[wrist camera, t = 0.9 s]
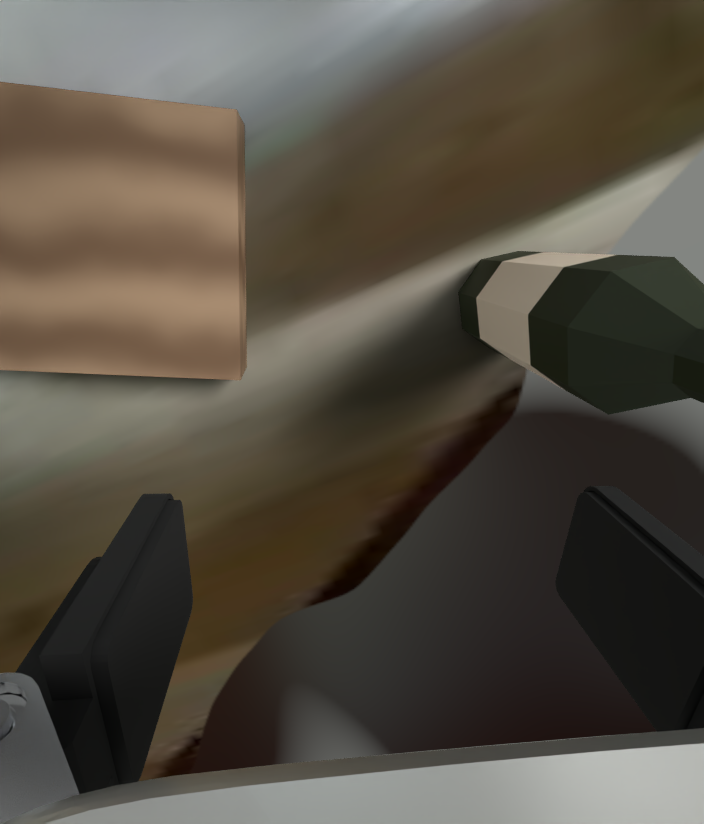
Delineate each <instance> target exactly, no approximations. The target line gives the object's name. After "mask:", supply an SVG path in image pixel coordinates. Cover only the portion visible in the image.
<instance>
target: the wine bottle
mask: <svg viewBox="0 0 704 824" xmlns="http://www.w3.org/2000/svg"><path fill="white" fill-rule="evenodd" d="M458 293H459V302H460V311H461V321H462V329H464V330H465V331H466V332H468V333H469V334H471V335H472V336H474V337H475V338H476V339H478V340H479V341H481V342H482V343H484V344H485V345H486V346H488V347H489V348H491V349H493V350H495V351H496V352H498V353H500V354H502V355H503V356H505V357H507V358H509V359H511V360H512V361H514V362H516V363H518V364H519V365H521V366H523V367H525V368H527V369H528V370H530V371H532V372H534V373H535V374H537V375H539V376H541V377H543V378H544V379H546V380H548V381H550V382H551V383H553V384H555V385H557V386H559V387H560V388H562V389H564V390H566V391H568V392H569V393H571V394H573V395H575V396H576V397H578V398H580V399H582V400H583V401H585V402H587V403H589V404H591V405H592V406H594V407H596V408H598V409H600V410H601V411H603V412H605V413H607V414H613V413H619V412H624V411H628V410H633V409H638V408H643V407H648V406H652V405H657V404H663V403H667V402H672V401H677V400H682V399H687V398H693V399H695V400H698V401H700V402H703V403H704V284H703V283H702V282H701V281H699V280H698V279H697V278H696V277H695V276H694V275H693V274H692V273H691V272H690V271H689V270H688V269H687V268H685V267H684V266H683V265H682V264H681V263H680V262H679V261H678V260H677V259H676V258H675V257H658V256H632V255H605V254H579V253H553V252H526V251H517V252H512V253H508V254H503V255H499V256H495V257H490V258H486V259H481V261H480V262H479V264H478V265H477V267H476V268H475V269H474V271H473V272H472V274H471V275H470V277H469V278H468V279H467V281H466V282H465V284H464V285H463V287H462V288H461V289H460V291H459V292H458Z"/></svg>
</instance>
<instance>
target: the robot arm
mask: <svg viewBox="0 0 704 824" xmlns="http://www.w3.org/2000/svg"><path fill="white" fill-rule="evenodd" d="M556 589H557V592H558V593H559V596H560V597H561V599H562V600H563V602H564V603H565V604H566V606H567V607H568V608H569V610H570V611H571V613H572V614H573V615H574V617H575V618H576V620H577V621H578V622H579V624H580V625H581V627H582V628H583V629H584V631H585V632H586V634H587V635H588V636H589V638H590V639H591V641H592V642H593V643H594V645H595V646H596V647H597V649H598V650H599V652H600V653H601V654H602V656H603V657H604V659H605V660H606V661H607V663H608V664H609V665H610V667H611V668H612V670H613V671H614V673H615V674H616V675H617V677H618V678H619V680H620V681H621V682H622V684H623V685H624V686H625V688H626V689H627V691H628V692H629V693H630V695H631V696H632V698H633V699H634V700H635V702H636V703H637V704H638V706H639V707H640V709H641V710H642V712H643V713H644V714H645V716H646V717H647V719H648V720H649V721H650V723H651V724H652V725H653V727H654V728H655V729H656V731H657V732H649V733H636V734H623V735H611V736H598V737H586V738H575V739H562V740H551V741H538V742H526V743H514V744H502V745H491V746H479V747H468V748H456V749H444V750H432V751H421V752H410V753H399V754H388V755H378V756H367V757H355V758H344V759H334V760H323V761H311V762H301V763H289V764H278V765H269V766H261V767H251V768H242V769H233V770H225V771H215V772H206V773H197V774H187V775H178V776H171V777H164V778H158V779H152V780H146V781H139V782H138V780H139V778H140V777H141V774H142V771H143V768H144V765H145V761H146V758H147V755H148V751H149V748H150V745H151V742H152V738H153V735H154V732H155V729H156V725H157V722H158V719H159V715H160V712H161V709H162V706H163V702H164V699H165V696H166V693H167V689H168V686H169V683H170V679H171V676H172V673H173V670H174V666H175V663H176V660H177V657H178V653H179V650H180V647H181V643H182V640H183V637H184V634H185V630H186V627H187V624H188V621H189V617H190V614H191V610H192V602H193V594H192V585H191V576H190V568H189V559H188V550H187V542H186V533H185V524H184V516H183V507H182V502H181V501H180V500H174V499H173V496H172V495H171V494H143V495H142V496H141V497H140V499H139V500H138V502H137V503H136V505H135V506H134V508H133V510H132V511H131V513H130V514H129V516H128V517H127V519H126V520H125V522H124V524H123V525H122V527H121V528H120V530H119V531H118V533H117V535H116V536H115V538H114V539H113V541H112V542H111V544H110V545H109V547H108V549H107V550H106V552H105V553H104V555H103V556H102V557H96V558H94V559H92V560H91V561H90V563H89V564H88V565H87V566H86V568H85V569H84V571H83V572H82V574H81V575H80V577H79V578H78V580H77V581H76V583H75V584H74V586H73V587H72V589H71V590H70V592H69V593H68V595H67V596H66V598H65V599H64V601H63V602H62V604H61V605H60V607H59V608H58V610H57V611H56V613H55V614H54V616H53V617H52V619H51V620H50V622H49V623H48V625H47V626H46V627H45V629H44V630H43V632H42V633H41V635H40V636H39V638H38V639H37V641H36V642H35V644H34V645H33V647H32V648H31V650H30V651H29V653H28V654H27V656H26V657H25V659H24V660H23V662H22V663H21V665H20V666H19V668H18V669H17V671H16V672H15V673H2V674H0V824H704V556H703V555H701V554H700V553H699V552H698V551H696V550H695V549H694V548H693V547H691V546H690V545H689V544H687V543H686V542H685V541H684V540H682V539H681V538H680V537H679V536H677V535H676V534H675V533H673V532H672V531H671V530H670V529H669V528H667V527H666V526H665V525H663V524H662V523H661V522H659V521H658V520H657V519H656V518H655V517H653V516H652V515H651V514H650V513H648V512H647V511H646V510H644V509H643V508H642V507H641V506H639V505H638V504H637V503H636V502H634V501H633V500H632V499H631V498H629V497H628V496H627V495H625V494H624V493H623V492H622V491H620V490H619V489H618V488H616V487H614V486H590V487H587V488H586V489H585V490H584V492H583V493H581V494H580V495H579V496H578V498H577V502H576V506H575V510H574V513H573V517H572V521H571V525H570V528H569V532H568V536H567V540H566V543H565V547H564V551H563V555H562V558H561V562H560V566H559V570H558V573H557V577H556Z"/></svg>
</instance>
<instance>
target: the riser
mask: <svg viewBox="0 0 704 824" xmlns="http://www.w3.org/2000/svg"><path fill="white" fill-rule="evenodd" d="M246 367H247V345H246V233H245V125H244V123H243V121H242V119H241V117H240V115H239V113H238V111H237V110H236V109H227V108H219V107H210V106H201V105H193V104H184V103H176V102H167V101H159V100H150V99H142V98H133V97H125V96H116V95H108V94H99V93H91V92H82V91H74V90H65V89H57V88H48V87H40V86H31V85H23V84H14V83H6V82H0V370H13V371H37V372H60V373H84V374H107V375H130V376H154V377H177V378H200V379H224V380H241V378H242V376H243V374H244V372H245V369H246Z"/></svg>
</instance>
